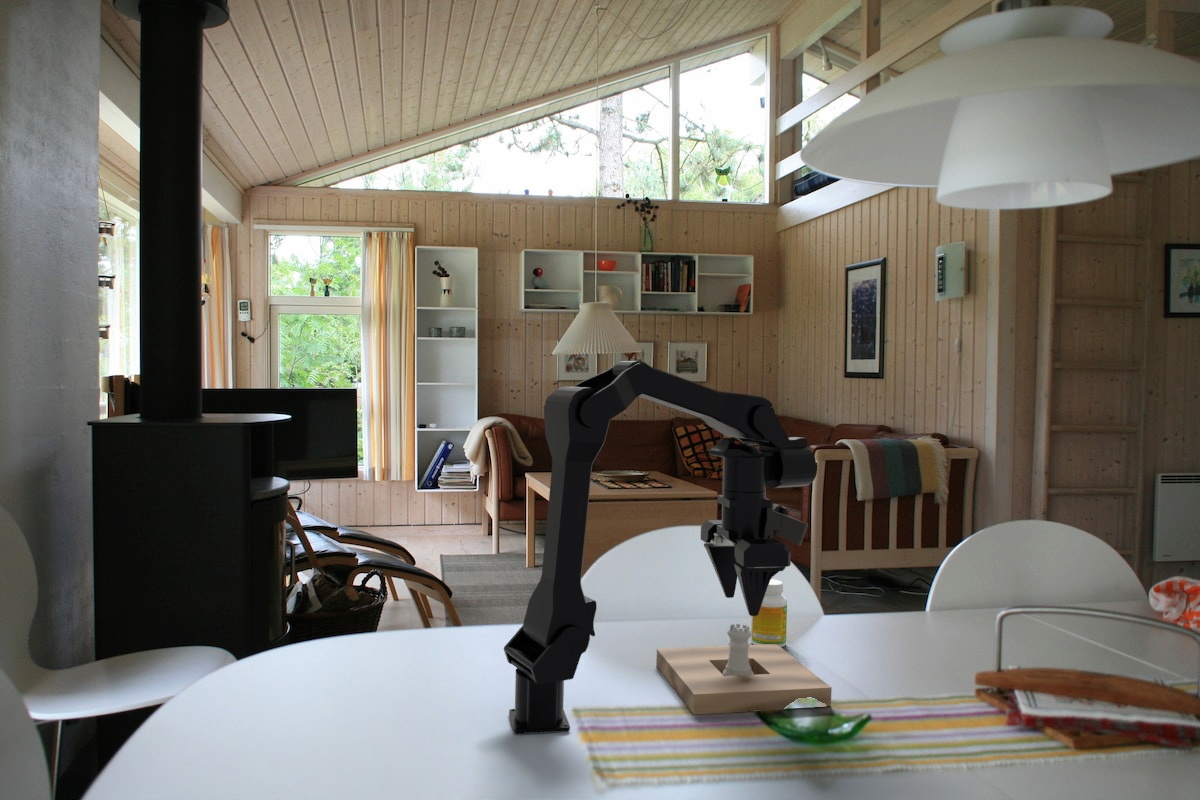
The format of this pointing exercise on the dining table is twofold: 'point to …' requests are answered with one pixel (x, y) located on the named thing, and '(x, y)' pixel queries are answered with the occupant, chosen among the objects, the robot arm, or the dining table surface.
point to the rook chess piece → (738, 652)
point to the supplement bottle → (771, 617)
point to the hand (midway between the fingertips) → (741, 606)
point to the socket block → (739, 679)
